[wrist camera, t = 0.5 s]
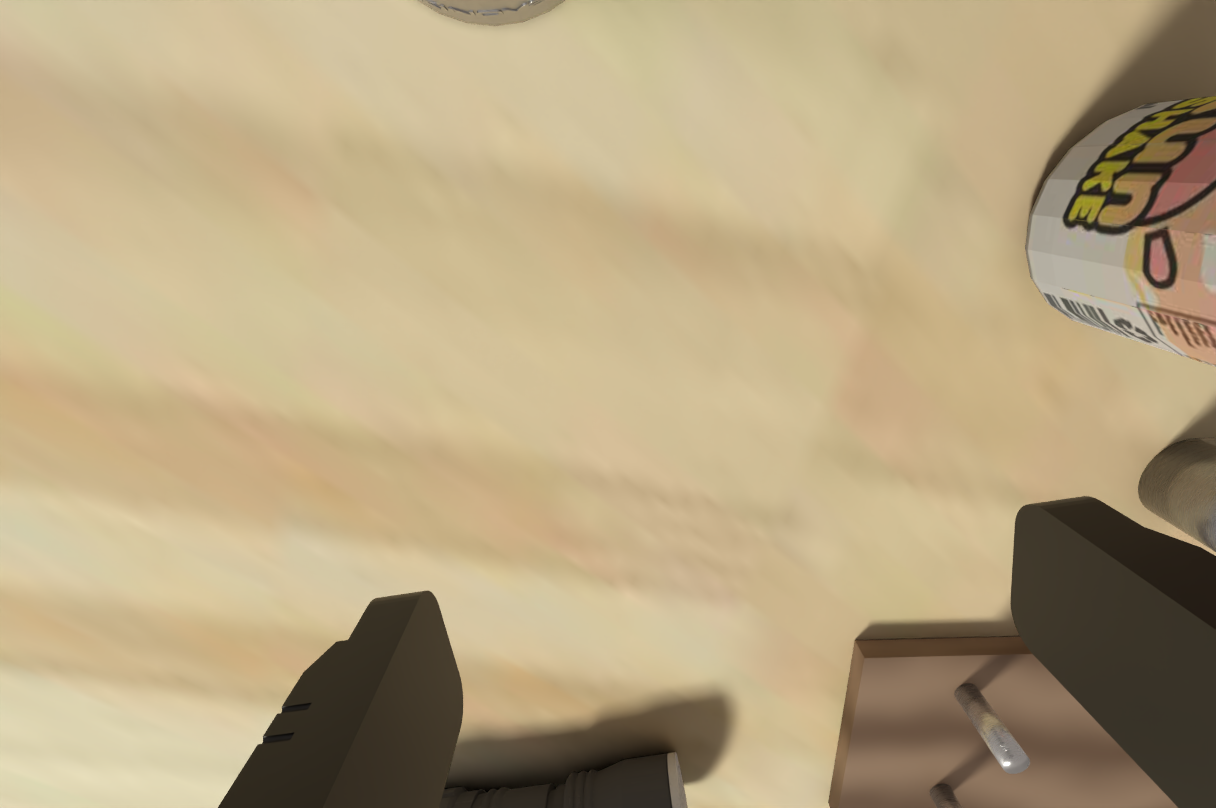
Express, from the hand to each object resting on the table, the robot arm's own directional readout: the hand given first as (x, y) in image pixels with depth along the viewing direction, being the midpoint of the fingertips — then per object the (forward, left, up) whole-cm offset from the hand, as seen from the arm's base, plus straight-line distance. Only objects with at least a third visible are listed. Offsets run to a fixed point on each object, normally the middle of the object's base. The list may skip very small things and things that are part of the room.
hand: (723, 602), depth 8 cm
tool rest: (+23, +23, -18) cm, 37 cm away
